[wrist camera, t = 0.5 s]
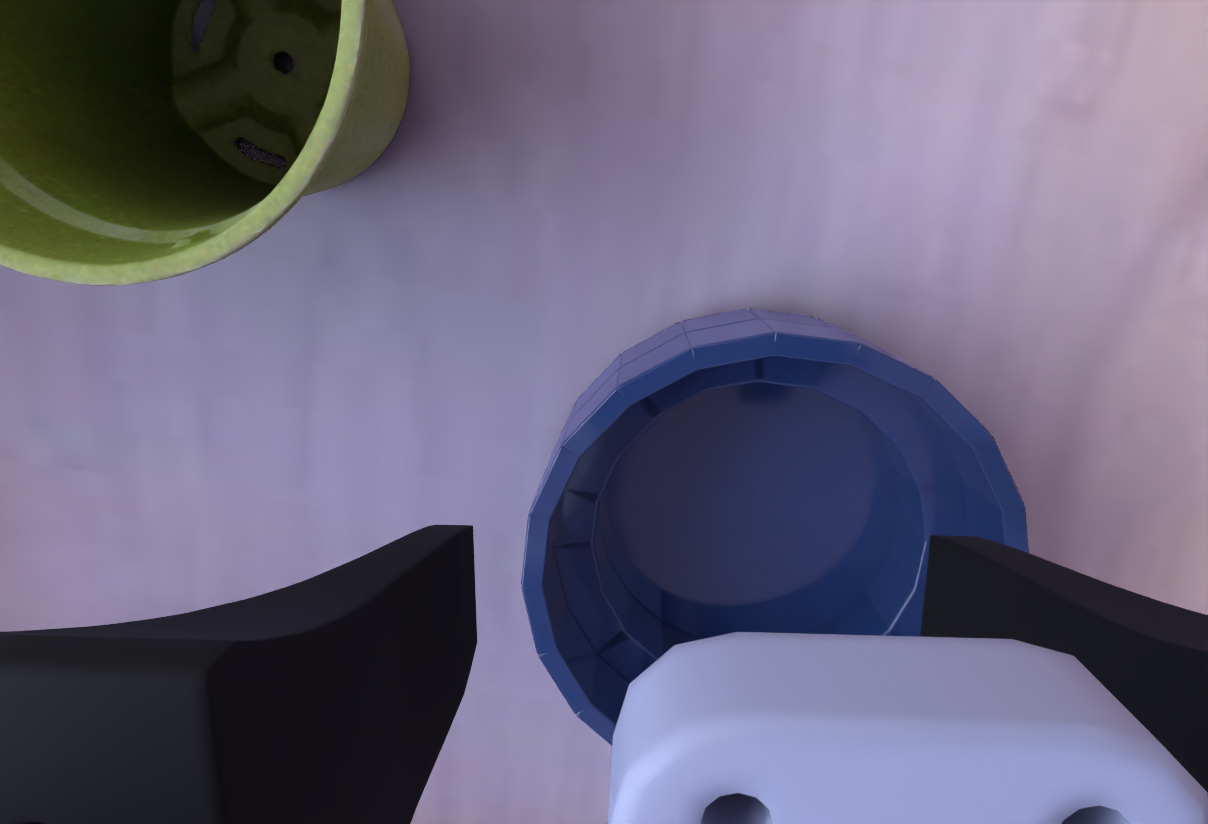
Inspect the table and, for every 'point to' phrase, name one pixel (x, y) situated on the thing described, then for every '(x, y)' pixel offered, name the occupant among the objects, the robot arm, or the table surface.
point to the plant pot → (181, 126)
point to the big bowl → (748, 498)
